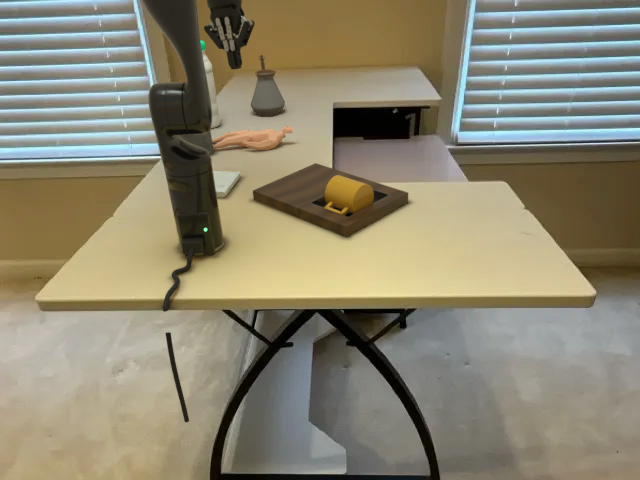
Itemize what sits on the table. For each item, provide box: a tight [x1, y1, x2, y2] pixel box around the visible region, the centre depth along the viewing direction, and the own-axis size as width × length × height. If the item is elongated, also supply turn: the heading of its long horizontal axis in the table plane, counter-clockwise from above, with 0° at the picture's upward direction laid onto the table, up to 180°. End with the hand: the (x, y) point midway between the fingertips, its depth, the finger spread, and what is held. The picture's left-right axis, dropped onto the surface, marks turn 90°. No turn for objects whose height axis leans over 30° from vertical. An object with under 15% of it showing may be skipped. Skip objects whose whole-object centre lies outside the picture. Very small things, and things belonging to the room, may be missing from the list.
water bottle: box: [200, 39, 221, 129], centre depth 184 cm, size 7×7×25 cm
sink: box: [310, 189, 390, 218], centre depth 139 cm, size 12×15×2 cm
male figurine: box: [212, 125, 294, 151], centre depth 175 cm, size 11×5×25 cm
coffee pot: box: [250, 54, 286, 117], centre depth 200 cm, size 21×12×15 cm, turn 8°
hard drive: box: [213, 170, 241, 198], centre depth 152 cm, size 2×8×12 cm
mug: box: [324, 175, 374, 215], centre depth 135 cm, size 10×7×8 cm
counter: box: [252, 162, 409, 238], centre depth 142 cm, size 30×22×2 cm
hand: (236, 68), depth 136 cm, fingers closed
